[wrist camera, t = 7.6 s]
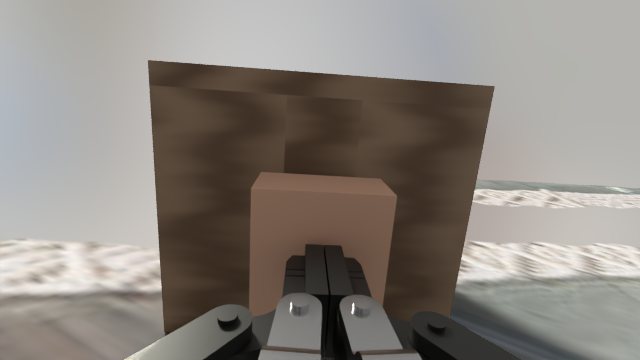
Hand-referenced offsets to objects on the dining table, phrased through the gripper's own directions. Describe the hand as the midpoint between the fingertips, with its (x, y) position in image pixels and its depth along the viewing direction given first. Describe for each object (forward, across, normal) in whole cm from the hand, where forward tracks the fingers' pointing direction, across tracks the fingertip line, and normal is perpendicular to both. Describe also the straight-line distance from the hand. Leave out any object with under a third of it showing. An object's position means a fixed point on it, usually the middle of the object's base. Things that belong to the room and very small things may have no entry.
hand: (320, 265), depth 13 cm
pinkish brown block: (+5, 0, +3) cm, 6 cm away
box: (+10, 0, +8) cm, 13 cm away
